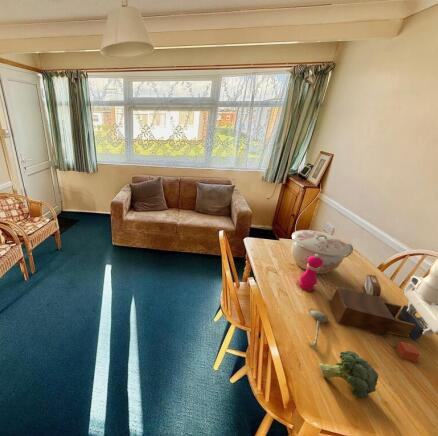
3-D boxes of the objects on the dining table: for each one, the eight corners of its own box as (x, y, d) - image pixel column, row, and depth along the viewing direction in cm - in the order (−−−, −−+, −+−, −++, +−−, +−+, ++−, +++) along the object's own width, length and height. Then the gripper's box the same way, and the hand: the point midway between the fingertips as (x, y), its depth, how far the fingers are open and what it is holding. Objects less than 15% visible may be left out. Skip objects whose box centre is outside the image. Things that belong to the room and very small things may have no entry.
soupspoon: (327, 317, 102) (310, 310, 106) (329, 311, 100) (312, 305, 104) (323, 352, 86) (303, 343, 90) (326, 346, 85) (305, 337, 89)
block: (409, 352, 86) (414, 345, 84) (415, 362, 83) (420, 354, 81) (395, 348, 88) (400, 341, 86) (400, 357, 84) (405, 350, 83)
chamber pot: (277, 264, 136) (286, 234, 127) (293, 247, 152) (302, 219, 144) (334, 289, 117) (349, 255, 108) (345, 266, 134) (359, 236, 125)
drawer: (414, 321, 98) (422, 309, 94) (432, 346, 87) (442, 333, 84) (358, 307, 105) (364, 295, 102) (369, 328, 94) (376, 316, 91)
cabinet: (371, 311, 104) (380, 296, 100) (385, 336, 92) (395, 320, 89) (330, 301, 109) (337, 286, 106) (338, 323, 98) (346, 307, 94)
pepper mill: (313, 284, 120) (325, 253, 111) (314, 293, 114) (327, 260, 106) (297, 280, 123) (308, 249, 115) (297, 288, 118) (309, 256, 109)
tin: (376, 304, 108) (384, 290, 104) (367, 301, 109) (375, 288, 105) (369, 285, 119) (376, 272, 116) (361, 283, 121) (367, 270, 117)
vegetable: (315, 346, 86) (367, 349, 78) (325, 387, 81) (382, 394, 73) (314, 352, 77) (373, 356, 69) (326, 398, 72) (391, 408, 64)
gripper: (476, 320, 65) (449, 352, 71) (432, 277, 82) (413, 306, 88) (445, 313, 68) (422, 344, 74) (409, 273, 84) (392, 301, 90)
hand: (417, 323), depth 81 cm, fingers open, 8 cm apart
